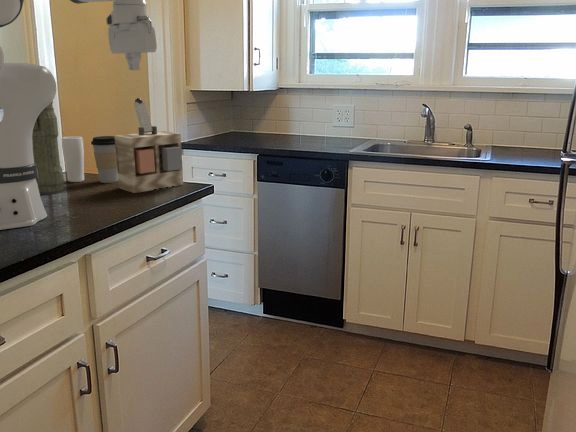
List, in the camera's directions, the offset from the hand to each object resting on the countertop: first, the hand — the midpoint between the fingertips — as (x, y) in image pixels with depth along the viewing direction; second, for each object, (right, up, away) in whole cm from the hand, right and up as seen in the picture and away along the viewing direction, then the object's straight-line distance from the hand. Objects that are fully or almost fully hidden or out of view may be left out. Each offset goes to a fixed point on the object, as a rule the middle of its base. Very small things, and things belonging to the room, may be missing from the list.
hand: (134, 70), depth 156 cm
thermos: (-33, -33, +22) cm, 51 cm away
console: (-2, -31, +29) cm, 42 cm away
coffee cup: (-19, -29, +38) cm, 51 cm away
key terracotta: (-4, -26, +23) cm, 35 cm away
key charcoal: (+4, -25, +27) cm, 37 cm away
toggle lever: (-2, -14, +24) cm, 28 cm away
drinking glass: (-30, -28, +38) cm, 56 cm away
